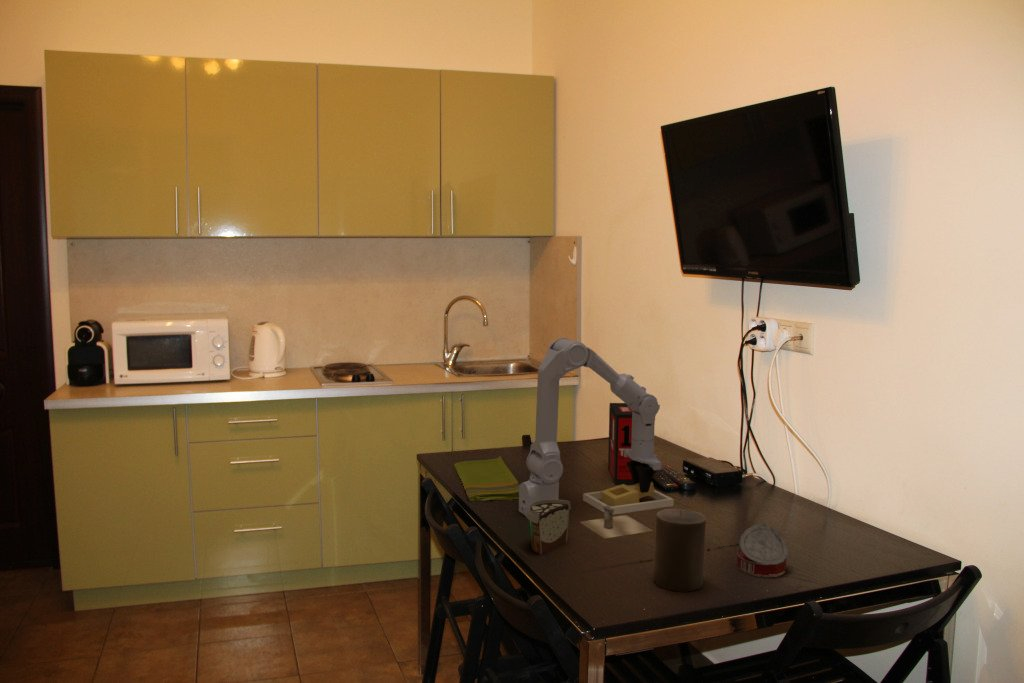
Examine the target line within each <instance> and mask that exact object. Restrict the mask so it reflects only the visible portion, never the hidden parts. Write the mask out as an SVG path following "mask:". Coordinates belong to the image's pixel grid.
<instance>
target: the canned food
mask: <svg viewBox="0 0 1024 683" xmlns="http://www.w3.org/2000/svg"><path fill="white" fill-rule="evenodd" d="M739 546H740V549H739V550H738V551H737V552H736V554H737V558H736V567H737V566H738V567H739V568H740V569H742V570H743V571H746V572H750V573H754V574H761V575H769V574H778V573H781V572H783V571H785V569H786V570H787V557H788V556H789V548H788V546H787V541H786V539H785V538H784V536H782V534H781V532H780V531H778V530H777V528H776V527H774V526H772V525H768V524H766V523H760V524H759V523H758V524H754V525H753V526H751V527H749V528H746V529H745V530H744V532H743V533H742V534H741V536H740V539H739Z"/></svg>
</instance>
